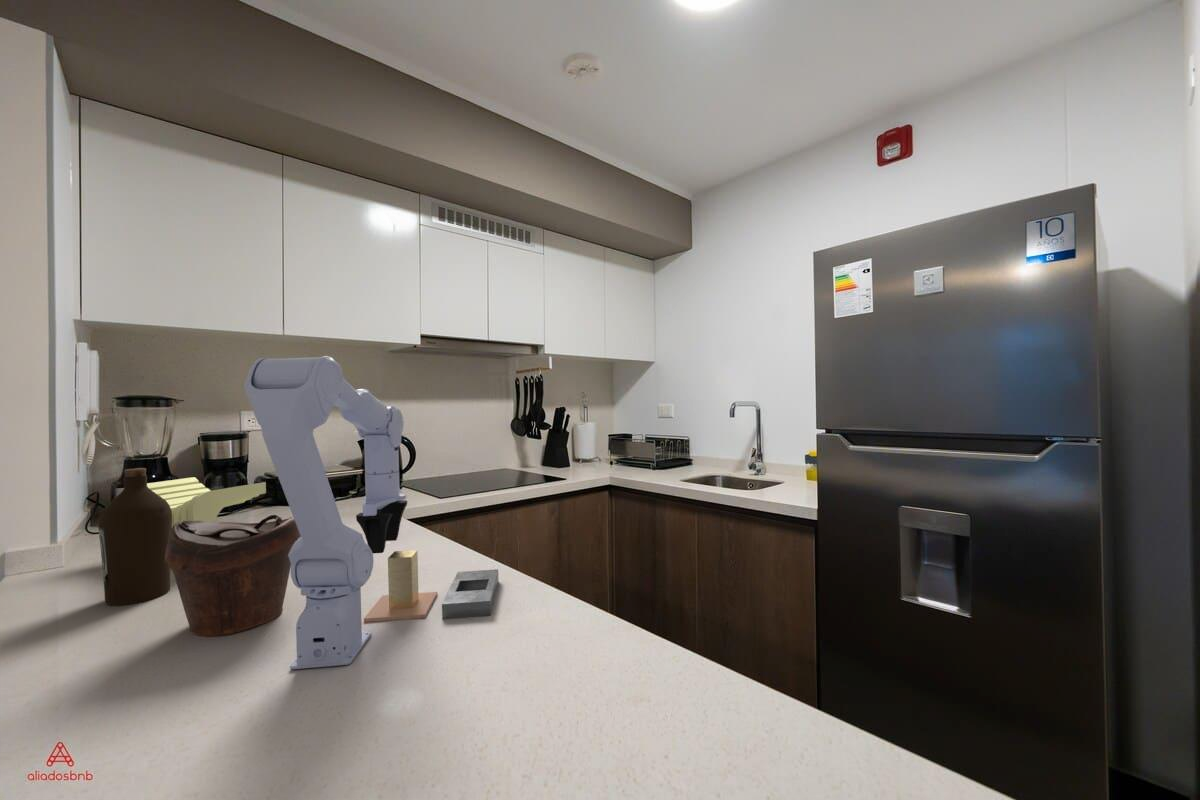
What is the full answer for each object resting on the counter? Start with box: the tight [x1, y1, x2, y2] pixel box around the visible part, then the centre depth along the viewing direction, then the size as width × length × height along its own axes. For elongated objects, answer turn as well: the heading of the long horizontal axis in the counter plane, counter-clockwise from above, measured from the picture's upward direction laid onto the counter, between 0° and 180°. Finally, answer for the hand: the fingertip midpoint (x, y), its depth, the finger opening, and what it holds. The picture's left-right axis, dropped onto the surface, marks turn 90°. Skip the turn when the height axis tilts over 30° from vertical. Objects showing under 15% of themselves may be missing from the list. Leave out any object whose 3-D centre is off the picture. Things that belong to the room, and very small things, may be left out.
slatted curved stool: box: [147, 476, 267, 527], centre depth 124 cm, size 30×16×18 cm, turn 66°
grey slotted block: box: [441, 569, 500, 620], centre depth 93 cm, size 16×8×2 cm, turn 7°
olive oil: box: [97, 467, 172, 606], centre depth 98 cm, size 11×11×25 cm
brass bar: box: [387, 549, 420, 610], centre depth 90 cm, size 4×4×9 cm
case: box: [165, 514, 301, 637], centre depth 87 cm, size 18×20×18 cm
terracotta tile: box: [363, 591, 438, 623], centre depth 90 cm, size 10×10×1 cm
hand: (384, 546), depth 92 cm, fingers open, 7 cm apart
